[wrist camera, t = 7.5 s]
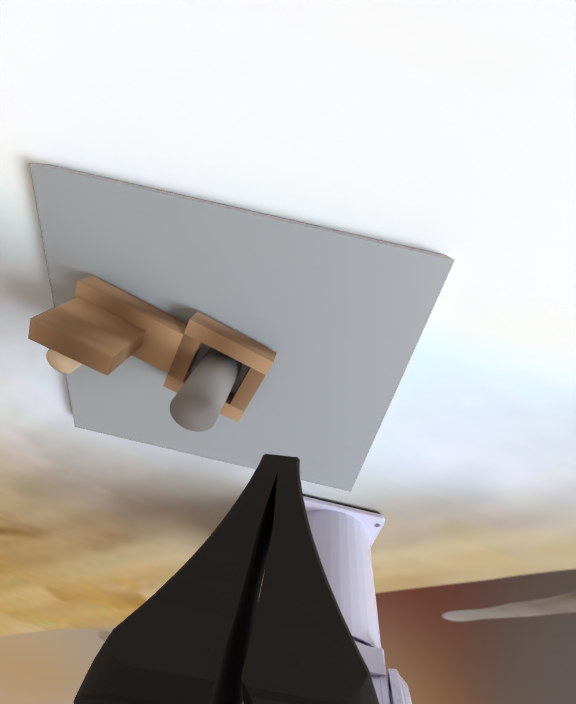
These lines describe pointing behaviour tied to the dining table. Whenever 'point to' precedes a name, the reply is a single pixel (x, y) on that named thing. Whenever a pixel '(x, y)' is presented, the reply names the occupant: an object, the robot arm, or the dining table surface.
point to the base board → (240, 321)
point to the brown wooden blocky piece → (145, 339)
